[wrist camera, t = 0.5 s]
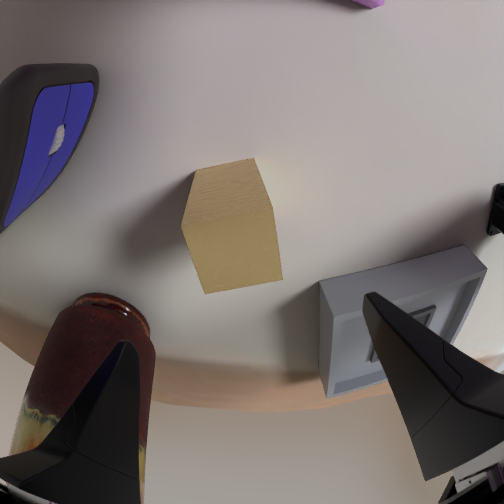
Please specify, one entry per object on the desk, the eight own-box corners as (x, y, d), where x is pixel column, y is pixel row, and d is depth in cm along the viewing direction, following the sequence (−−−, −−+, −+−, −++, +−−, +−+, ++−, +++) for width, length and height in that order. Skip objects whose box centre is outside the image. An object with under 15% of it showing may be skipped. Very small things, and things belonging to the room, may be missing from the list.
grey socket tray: (464, 244, 25) (487, 268, 21) (431, 334, 34) (445, 357, 30) (319, 281, 25) (334, 316, 21) (318, 370, 34) (326, 398, 30)
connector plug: (253, 158, 18) (272, 207, 12) (262, 209, 21) (282, 279, 14) (196, 170, 18) (180, 226, 12) (209, 220, 21) (204, 294, 14)
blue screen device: (19, 232, 19) (-36, 300, 11) (-9, 199, 17) (-70, 257, 9) (132, 104, 15) (57, 130, 8) (96, 58, 13) (6, 57, 5)
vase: (46, 300, 24) (-19, 527, 2) (117, 269, 22) (56, 593, 1) (107, 360, 30) (82, 556, 8) (179, 344, 28) (178, 588, 7)
